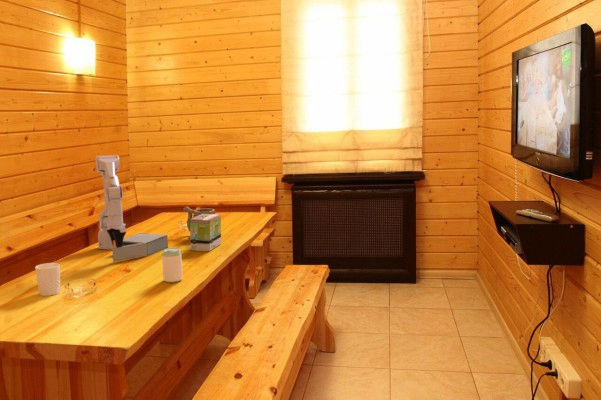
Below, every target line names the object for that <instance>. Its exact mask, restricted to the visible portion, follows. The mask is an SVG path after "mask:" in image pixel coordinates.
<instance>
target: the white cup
mask: <svg viewBox="0 0 601 400" xmlns="http://www.w3.org/2000/svg"><path fill="white" fill-rule="evenodd" d="M60 266H61V264H60V263H58V262H46V263H40V264H38V265H36V266H35V267H34V269H35V275H36V282H37V287H38V293H39V294H38V295H40V296H42V297H51V296H55V295H58V294H60V292H61V267H60Z"/></svg>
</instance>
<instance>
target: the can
mask: <svg viewBox="0 0 601 400" xmlns="http://www.w3.org/2000/svg"><path fill="white" fill-rule="evenodd" d="M161 261H162V280H163V281H164V282H165V283H169V284H170V283H171V284H173V283H178V282H180V281H181V280H183V261H182V252H181V250H180V248H177V247H168V248H166V249H163V252H162V253H161Z"/></svg>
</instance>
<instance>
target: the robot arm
mask: <svg viewBox="0 0 601 400" xmlns="http://www.w3.org/2000/svg"><path fill="white" fill-rule="evenodd" d="M120 167H121V166H120V157H119V155H118V154H116V155H115V154H113V155H96V156H95V168H96V172H97V174H101V177H102V181H103V183H102V185H103V196H104V208H103V210H101V211H100V212H99V214H98V215H99V217H98V219H99V220H98V221H99V228H100V229H99V230H98V232H97V241H98V242H97V243H98V244H97V245H98V247H97V249H99V250H100V249H101V250H108V251H109V250H111V251H113V250H112V248H114V246H113V240H115V243H116V247H117V248H119V247H122V244H123V239H125V236H126V233H127V229H126V226H127V224H126V223H124V217H123V216H124V214H123V201H122V200H123V198H124V195H123V188H122V185H121V184H120V180H119V176H117V175H116V173H117V172H119V170H120Z"/></svg>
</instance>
